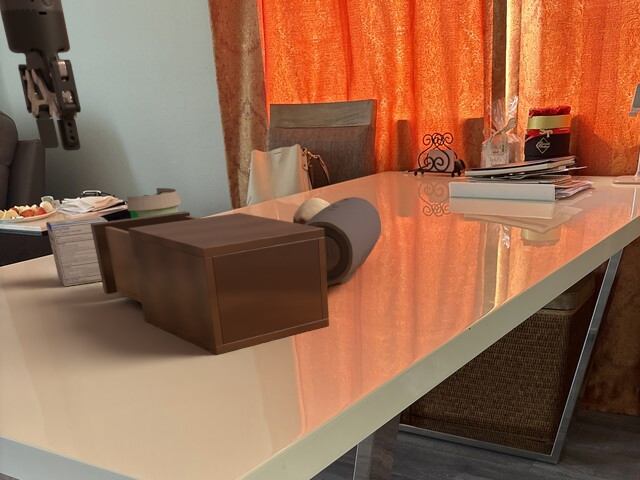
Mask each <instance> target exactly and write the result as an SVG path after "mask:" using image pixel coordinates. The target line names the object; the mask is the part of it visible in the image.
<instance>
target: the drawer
mask: <svg viewBox="0 0 640 480" xmlns="http://www.w3.org/2000/svg"><path fill="white" fill-rule="evenodd" d="M199 218H200V217H199V216H198V217H197V216H193V215H191V213H190V211H186V210H185V211H184V210H183V211H178V212H176V213H169V214H161V215H154V216H146V217H138V218H131V217H130V218H123V219H116V220H110V221H108V220H107V221H108V222H100V223H93V224H90V225H91V230H92V235H93V239H94V244H95V249H96V254H97V259H98V264H99V269H100V274H101V279H102V281H101V284H102V289H103V293H104V294H106V295H111V294H116V293H118V294H120V295H122V296H124V297H126V298H129V299H131V300H133V301H136V302H139V303H141V297H140V292H139V286H138V281H137V275H136V269H135V264H134V258H133V253H132V247H131V242H130V236H129V230H128V228H134V227H141V226H149V225H156V224H163V223H170V222H177V221H184V220H192V219H199Z"/></svg>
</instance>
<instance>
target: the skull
mask: <svg viewBox="0 0 640 480" xmlns="http://www.w3.org/2000/svg"><path fill="white" fill-rule="evenodd" d="M329 205H331V203H329V202H328V201H327V200H324V199H322V198H321V197H312V198H308V199H306V200H305V201H304V202H302V203H301V204H300V205H299V207H298V208H297V210H296V211H295V212H294V213H293V214H294V215H293V217H292V223H298V224H303V225H304V224H305V223H306V222H307V221H309V220H310V219H311V218H312V217H313V216H314V215H316V214H317V213H318V212H320V211H321V210H322V209H324V208H326V207H327V206H329Z"/></svg>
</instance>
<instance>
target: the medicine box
mask: <svg viewBox="0 0 640 480" xmlns="http://www.w3.org/2000/svg"><path fill="white" fill-rule="evenodd" d="M100 222H108V220H107V219H106V218H104V217H102V216H100V215H94V216H86V217H75V218H67V219H65V218H64V219H59V220H51V221H50V220H49V221H47V222H46V223H45V225H46V229H47V233H48V238H49V243H50V246H51V251H52V255H53V259H54V263H55V267H56V272H57V277H58V280H59V281H60V282H61V284H62V285H63V286H64V287H70V286H76V285H83V284H84V285H85V284H89V283H96V282H102V279H101V274H100V269H99V264H98V259H97V254H96V249H95V244H94V239H93V235H92V230H91V225H90V224H93V223H100Z"/></svg>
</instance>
